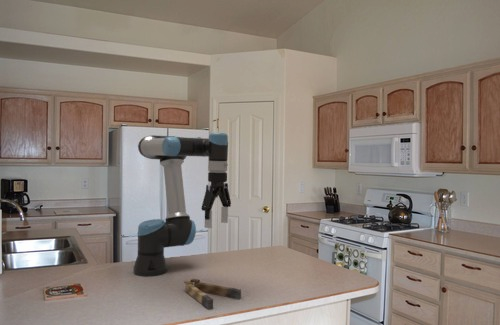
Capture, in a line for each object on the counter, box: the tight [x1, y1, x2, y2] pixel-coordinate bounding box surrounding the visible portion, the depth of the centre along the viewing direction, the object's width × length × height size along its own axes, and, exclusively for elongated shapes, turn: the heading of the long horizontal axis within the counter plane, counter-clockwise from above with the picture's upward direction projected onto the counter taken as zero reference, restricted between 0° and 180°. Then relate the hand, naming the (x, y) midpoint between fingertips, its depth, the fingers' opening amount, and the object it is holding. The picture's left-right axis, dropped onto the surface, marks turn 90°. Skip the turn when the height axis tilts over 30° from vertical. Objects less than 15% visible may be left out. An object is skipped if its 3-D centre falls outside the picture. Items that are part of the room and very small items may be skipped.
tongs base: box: [189, 278, 242, 300], centre depth 154 cm, size 23×4×4 cm, turn 63°
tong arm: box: [183, 279, 214, 310], centre depth 148 cm, size 22×2×4 cm, turn 31°
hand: (216, 225), depth 159 cm, fingers open, 13 cm apart
